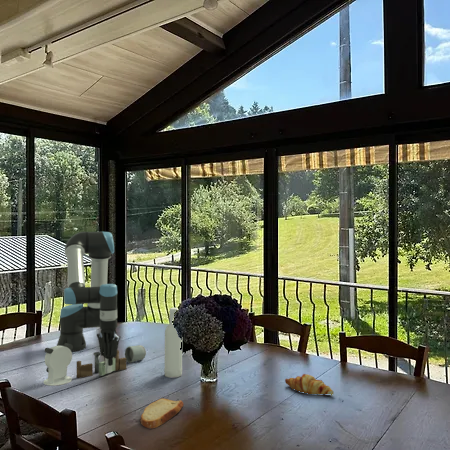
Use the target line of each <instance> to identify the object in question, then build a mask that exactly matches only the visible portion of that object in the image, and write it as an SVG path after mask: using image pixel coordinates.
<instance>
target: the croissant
mask: <svg viewBox="0 0 450 450" xmlns="http://www.w3.org/2000/svg"><path fill="white" fill-rule="evenodd" d="M284 381H285V382H284V383H285V384H286V385H287V386H288V387H289V388H291V390H293V389H295V390H294V391H296V390H297V391H296V392H298V391H300V392H304V393H308V394H331V396H332V394H333V395H334V390H333V389H332V388H331V387H330V386H329V385H327V384H325V382H324V381H323V380H321V379H316V377H314V376H313V375H310V374H308V373H307V374H306V373H303V374H302V375H297V376H296V377H289V378H285V379H284ZM300 392H299V393H300ZM304 393H303V394H304ZM308 394H307V395H308Z"/></svg>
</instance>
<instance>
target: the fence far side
mask: <svg viewBox="0 0 450 450" xmlns="http://www.w3.org/2000/svg"><path fill="white" fill-rule="evenodd" d="M93 365H94V364H93V363H86V364H82V361H81V360H77V361H76V379H81V378H87V377H92V376H94V375H93V374H94V371H93V369H94V366H93Z"/></svg>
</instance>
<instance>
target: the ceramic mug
mask: <svg viewBox="0 0 450 450" xmlns="http://www.w3.org/2000/svg"><path fill="white" fill-rule="evenodd" d="M146 351H147V350H146V348H145V346H143V345H140V344H139V345H131V346H127V347H126V348H125V351H124V358H126V363H134V362H138V361H142V360H144V359H145V357H146V355H147V352H146Z"/></svg>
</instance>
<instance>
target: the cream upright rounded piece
mask: <svg viewBox="0 0 450 450" xmlns="http://www.w3.org/2000/svg"><path fill="white" fill-rule="evenodd" d="M72 349H73V346H72V345H71V344H67V343H65V344H64V346H57V345H55V346H52V347H50V348H49V347H45V348H44V353H45V356H44V364H45V366H46V368H45V369H46V372H47V374H48V375H47V378H46V379H44V380H43V384H44V385H46V386H49V387H50V386H51V387H58V386H62V385H67V384H69V383H71V382H72V381H73V379H72V377H71V376H68V366H69V365H70V364H71V363H72V360H73V352H71V350H72Z"/></svg>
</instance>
